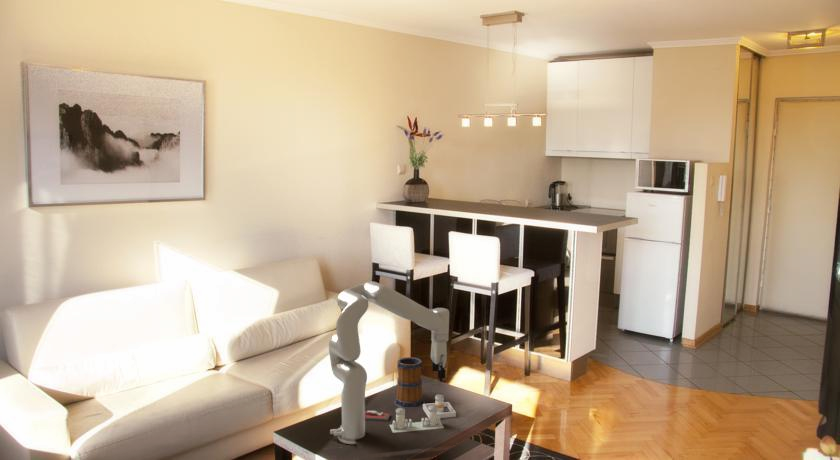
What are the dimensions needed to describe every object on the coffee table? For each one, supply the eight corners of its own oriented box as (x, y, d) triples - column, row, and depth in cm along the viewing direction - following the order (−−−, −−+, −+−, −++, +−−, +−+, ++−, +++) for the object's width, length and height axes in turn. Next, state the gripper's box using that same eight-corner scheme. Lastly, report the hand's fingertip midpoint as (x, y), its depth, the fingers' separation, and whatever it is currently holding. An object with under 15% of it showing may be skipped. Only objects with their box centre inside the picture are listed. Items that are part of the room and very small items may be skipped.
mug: (385, 395, 318) (385, 355, 315) (413, 391, 324) (413, 351, 321) (401, 410, 300) (401, 367, 298) (430, 405, 306) (430, 363, 304)
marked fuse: (436, 415, 293) (436, 398, 292) (434, 412, 296) (434, 394, 295) (444, 414, 293) (444, 397, 292) (442, 411, 297) (442, 394, 296)
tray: (429, 422, 288) (429, 414, 287) (422, 411, 299) (422, 404, 299) (455, 419, 291) (456, 412, 290) (448, 409, 302) (448, 401, 302)
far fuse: (429, 427, 280) (429, 408, 279) (427, 423, 283) (427, 405, 282) (438, 426, 280) (438, 408, 279) (435, 422, 284) (436, 404, 283)
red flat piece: (394, 417, 293) (350, 414, 296) (394, 408, 293) (350, 405, 296) (390, 425, 285) (344, 422, 288) (390, 416, 284) (344, 412, 287)
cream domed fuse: (396, 430, 276) (396, 411, 275) (395, 426, 280) (395, 408, 279) (405, 429, 277) (405, 410, 276) (403, 425, 281) (403, 407, 280)
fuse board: (392, 436, 274) (392, 425, 273) (389, 428, 282) (389, 417, 281) (444, 431, 279) (444, 421, 278) (439, 423, 287) (439, 413, 286)
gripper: (426, 331, 298) (425, 368, 300) (436, 342, 281) (435, 381, 283) (442, 331, 299) (441, 367, 301) (453, 341, 283) (452, 380, 285)
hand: (438, 374), depth 292 cm, fingers open, 9 cm apart
